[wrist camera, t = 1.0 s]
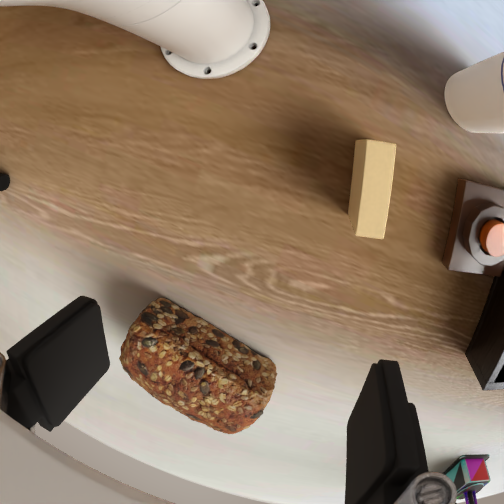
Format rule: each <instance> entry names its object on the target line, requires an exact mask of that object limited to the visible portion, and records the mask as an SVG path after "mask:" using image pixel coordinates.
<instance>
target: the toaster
mask: <svg viewBox="0 0 504 504" xmlns="http://www.w3.org/2000/svg"><path fill="white" fill-rule="evenodd" d="M465 355H466V357H467V359H468V361H469V363H470V365H471V367H472V369H473V371H474V373H475V375H476V377H477V379H478V381H479V383H480V385H481V387H482V390H496V389H504V267H503V270H502V273H501V276H500V277H497V276H494V280H493V283H492V286H491V289H490V292H489V295H488V298H487V301H486V304H485V306H484V309H483V312H482V315H481V317H480V320H479V322H478V325H477V327H476V330H475V332H474V335H473V337H472V340H471V342H470V344H469V347H468V349H467V351H466V353H465Z"/></svg>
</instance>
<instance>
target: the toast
mask: <svg viewBox="0 0 504 504" xmlns="http://www.w3.org/2000/svg"><path fill="white" fill-rule="evenodd" d="M395 153H396V144H394V143H388V142H382V141H376V140H370V139H363V140H356V141H355V153H354V163H353V173H352V183H351V191H350V200H349V208H348V216H349V219H350V222H351V224H352V227H353V230H354V233H355V235H356V236H362V237H370V238H377V239H383V238H384V233H385V228H386V222H387V215H388V209H389V202H390V195H391V188H392V180H393V172H394V163H395Z"/></svg>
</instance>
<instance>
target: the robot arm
mask: <svg viewBox="0 0 504 504" xmlns="http://www.w3.org/2000/svg"><path fill="white" fill-rule="evenodd" d="M257 4H258V6H256V5H257ZM0 6H52V7H59V8H65V9H69V10H73V11H77V12H80V13H83V14H86V15H89V16H92V17H95V18H97V19H100V20H102V21H105V22H107V23H110V24H112V25H115V26H117V27H119V28H122V29H124V30H126V31H129V32H131V33H133V34H135V35H138V36H140V37H142V38H144V39H146V40H148V41H150V42H153V43H155V44H157V45H159V46H161V50H162V53H163V55H164V57H165V59H166V60H167V61H168V62H169V64H170V65H171V66H173V67H174V68H175V69H176V70H178V71H180V72H182V73H183V74H186V75H188V76H191V77H195V78H200V79H214V78H221V77H225V76H228V75H231V74H234V73H235V72H237V71H239V70H241V69H243V68H244V67H246V66H247V65H248V64H250V63H251V62H252V61H253V60H254V59H255V58H256V57H257V56H258V55H259V54H260V52H261V51H262V49H263V48H264V46H265V44H266V42H267V39H268V37H269V32H270V16H269V13H268V10H267V7H266V5H265V3H264V2H263V0H0ZM253 47H257V48H256V49H255V50H253V49H252V48H253ZM171 52H172V53H171ZM209 70H211V73H210V74H208V71H209ZM7 354H8V357H9V359H8V360H6V359H5V357H4V355H3V354H2V353H0V504H175V503H172V502H169V501H166V500H163V499H160V498H158V497H155V496H153V495H150V494H148V493H145V492H142V491H140V490H138V489H135V488H133V487H131V486H128V485H126V484H124V483H122V482H119V481H117V480H115V479H113V478H111V477H109V476H107V475H105V474H102V473H101V472H99V471H97V470H95V469H93V468H91V467H89V466H87V465H85V464H83V463H82V462H80V461H78V460H76V459H74V458H73V457H71V456H69V455H67V454H66V453H64V452H62V451H60V450H59V449H57V448H55V447H54V446H52V445H51V444H49V443H48V442H46V441H44V440H43V439H41V438H40V437H38V436H37V435H35V424H36V423H37V422H38V423H39V424H40V426H42V427H43V428H45V429H47V430H48V431H51V430H52V429H53V428H54V427H56V426H59V425H60V424H61V423H62V422H63V421H64V419H65V418H66V417H67V416H68V415H69V414H70V412H71V411H72V410H73V409H74V408H75V407H76V406H77V404H78V403H79V402H80V401H81V400H82V399H83V398H84V396H85V395H86V394H87V393H88V392H89V391H90V390H91V389H92V387H93V386H94V385H95V384H96V383H97V382H98V381H99V380H100V378H101V377H102V376H103V375H104V374H105V373H106V372H107V370H108V369H109V366H110V361H109V356H108V351H107V345H106V340H105V335H104V329H103V323H102V316H101V310H100V306H99V305H98V304H97V301H96V300H94V299H92V298H89V297H85V296H80V297H78V298H77V299H75V300H74V301H72V302H71V303H70V304H68V305H67V306H66V307H64V308H63V309H61V310H60V311H59V312H57V313H56V314H55V315H53V316H52V317H51V318H49V319H48V320H47V321H45V322H44V323H43V324H41V325H40V326H39V327H37V328H36V329H35V330H33V331H32V332H31V333H29V334H28V335H27V336H25V337H24V338H23V339H21V340H20V341H19V342H18V343H16V344H15V345H14V346H12V347H11V348H10V349H9V350H7ZM456 499H457V490H456V486H455V484H454V483H453V481H452V480H451V479H450V478H449V477H447V476H446V475H444V474H442V473H439V472H428V466H427V460H426V455H425V449H424V444H423V439H422V434H421V430H420V425H419V421H418V416H417V412H416V408H415V405H414V404H413V403H408V400H407V396H406V392H405V387H404V383H403V379H402V375H401V371H400V367H399V364H398V362H397V361H391V360H382V359H381V360H379V362H378V364H376V363H373V364H372V366H371V368H370V371H369V373H368V376H367V378H366V381H365V383H364V386H363V388H362V391H361V393H360V395H359V398H358V400H357V402H356V404H355V407H354V409H353V411H352V413H351V416H350V418H349V420H348V424H347V463H346V491H345V504H457V503H455V502H456Z"/></svg>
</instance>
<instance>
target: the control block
mask: <svg viewBox="0 0 504 504" xmlns="http://www.w3.org/2000/svg"><path fill="white" fill-rule="evenodd" d="M491 219H496V220H499V221H500V222H502V223H504V189H501V188H497V187H493V186H490V185H486V184H482V183H478V182H474V181H470V180H466V179H461V178H458V184H457V191H456V197H455V203H454V209H453V214H452V220H451V225H450V230H449V234H448V239H447V243H446V248H445V252H444V256H443V260H442V264H443V265H444V266H445V267H446V268H447V269H448V270H452V271H460V272H467V273H475V274H482V275H490V276H497V277H500V276H501V273H502V270H503V266H504V255H502V256H500V257H493V256H491V255H490V254H489V253H488V252H486V251H485V250H484V249H483V248H482V247H481V245H480V241H479V235H480V231H481V228H482V226H483V225H484V224H485V223H486V222H487V221H489V220H491Z"/></svg>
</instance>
